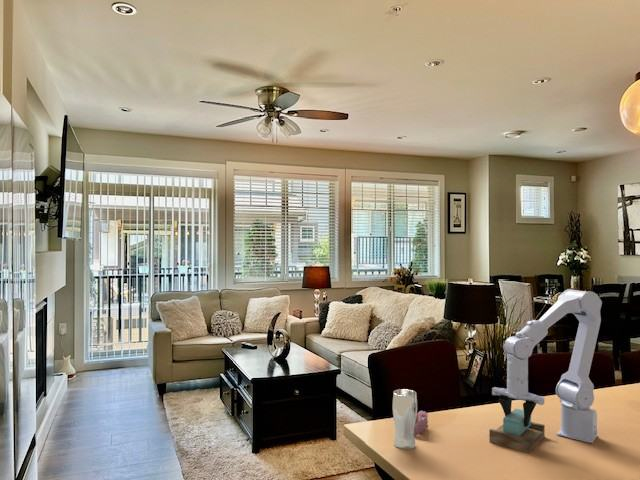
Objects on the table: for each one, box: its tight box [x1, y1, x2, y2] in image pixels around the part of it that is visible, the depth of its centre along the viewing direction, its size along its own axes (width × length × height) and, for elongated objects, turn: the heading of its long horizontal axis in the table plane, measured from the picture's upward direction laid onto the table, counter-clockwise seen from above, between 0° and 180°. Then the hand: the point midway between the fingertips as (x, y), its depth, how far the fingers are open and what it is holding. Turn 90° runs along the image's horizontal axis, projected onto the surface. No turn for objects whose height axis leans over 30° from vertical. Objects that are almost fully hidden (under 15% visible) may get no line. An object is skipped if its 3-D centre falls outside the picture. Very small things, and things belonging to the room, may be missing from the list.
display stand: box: [489, 421, 546, 453], centre depth 140 cm, size 11×15×4 cm
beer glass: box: [392, 388, 418, 450], centre depth 135 cm, size 7×7×15 cm
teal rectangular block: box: [502, 408, 532, 436], centre depth 140 cm, size 4×11×4 cm, turn 140°
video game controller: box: [414, 410, 429, 437], centre depth 146 cm, size 10×5×7 cm, turn 169°
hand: (517, 423), depth 140 cm, fingers closed on teal rectangular block, 4 cm apart
